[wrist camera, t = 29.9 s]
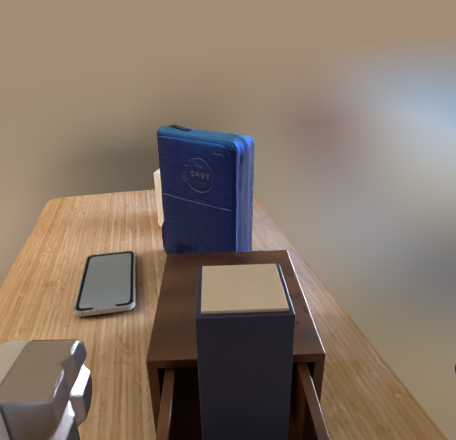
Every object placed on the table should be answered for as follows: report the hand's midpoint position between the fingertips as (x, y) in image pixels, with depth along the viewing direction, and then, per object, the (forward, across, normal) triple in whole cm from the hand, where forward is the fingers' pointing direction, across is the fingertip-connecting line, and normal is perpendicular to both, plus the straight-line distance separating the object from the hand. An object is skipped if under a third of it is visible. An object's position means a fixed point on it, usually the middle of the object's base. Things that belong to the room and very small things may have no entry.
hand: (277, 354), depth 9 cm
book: (+46, -3, -25) cm, 52 cm away
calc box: (+12, 0, -22) cm, 25 cm away
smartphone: (+41, -16, -24) cm, 51 cm away
